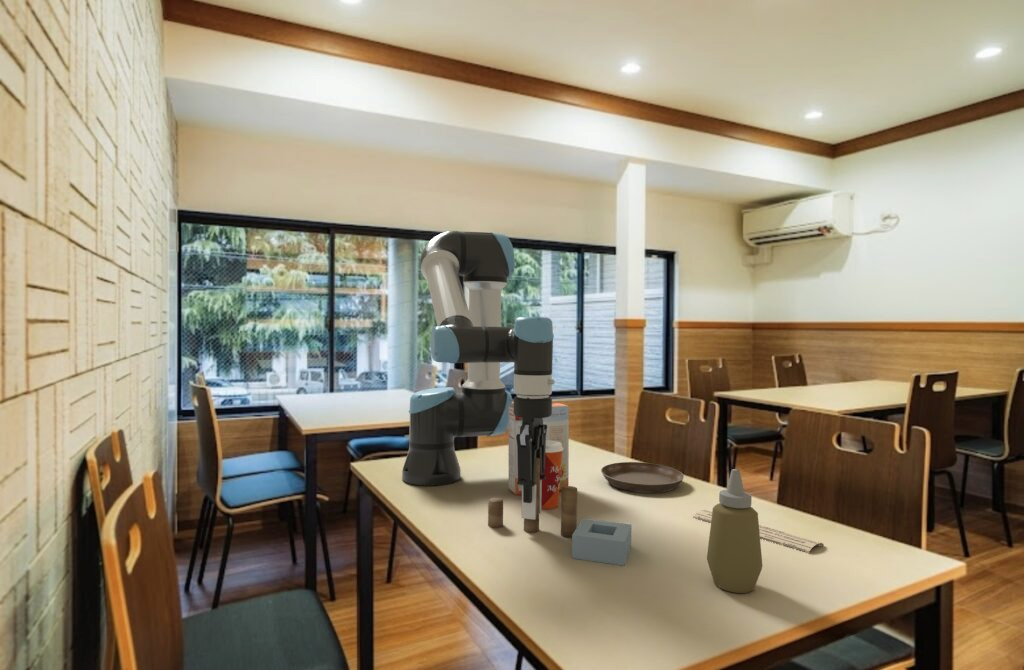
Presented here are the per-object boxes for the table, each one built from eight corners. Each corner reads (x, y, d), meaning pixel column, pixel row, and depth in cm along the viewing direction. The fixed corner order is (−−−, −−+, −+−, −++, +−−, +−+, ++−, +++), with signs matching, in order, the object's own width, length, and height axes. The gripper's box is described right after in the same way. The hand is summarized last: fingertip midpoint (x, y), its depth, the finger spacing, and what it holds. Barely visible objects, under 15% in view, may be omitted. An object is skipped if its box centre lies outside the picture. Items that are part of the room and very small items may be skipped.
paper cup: (560, 512, 122) (561, 447, 122) (525, 509, 123) (526, 445, 123) (564, 501, 130) (565, 440, 129) (531, 498, 131) (532, 438, 131)
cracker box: (559, 484, 144) (560, 402, 143) (569, 490, 138) (570, 405, 138) (507, 488, 139) (507, 403, 139) (514, 495, 133) (515, 407, 133)
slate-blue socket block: (582, 539, 106) (582, 518, 106) (631, 546, 103) (631, 524, 103) (571, 558, 98) (572, 534, 97) (624, 565, 95) (624, 541, 95)
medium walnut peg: (562, 531, 110) (563, 485, 110) (578, 533, 109) (578, 486, 109) (559, 536, 108) (559, 489, 107) (574, 538, 107) (575, 491, 106)
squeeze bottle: (697, 574, 91) (699, 464, 91) (745, 573, 92) (747, 463, 92) (720, 598, 83) (722, 477, 83) (772, 597, 84) (774, 476, 84)
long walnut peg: (526, 526, 113) (527, 456, 113) (540, 528, 112) (541, 457, 112) (521, 531, 110) (522, 459, 110) (536, 533, 109) (537, 461, 109)
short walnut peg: (491, 522, 115) (491, 497, 115) (505, 523, 114) (505, 499, 114) (485, 526, 112) (486, 501, 112) (499, 528, 111) (500, 503, 111)
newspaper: (693, 521, 119) (693, 513, 119) (711, 514, 123) (712, 506, 123) (809, 557, 101) (809, 547, 101) (826, 548, 105) (826, 538, 105)
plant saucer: (689, 498, 133) (689, 484, 133) (601, 493, 137) (601, 480, 136) (677, 476, 154) (678, 464, 154) (600, 472, 157) (601, 460, 157)
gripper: (540, 401, 102) (538, 531, 102) (561, 392, 117) (560, 505, 117) (500, 399, 104) (499, 526, 104) (526, 390, 119) (525, 501, 120)
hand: (531, 515), depth 111 cm, fingers closed on long walnut peg, 3 cm apart
